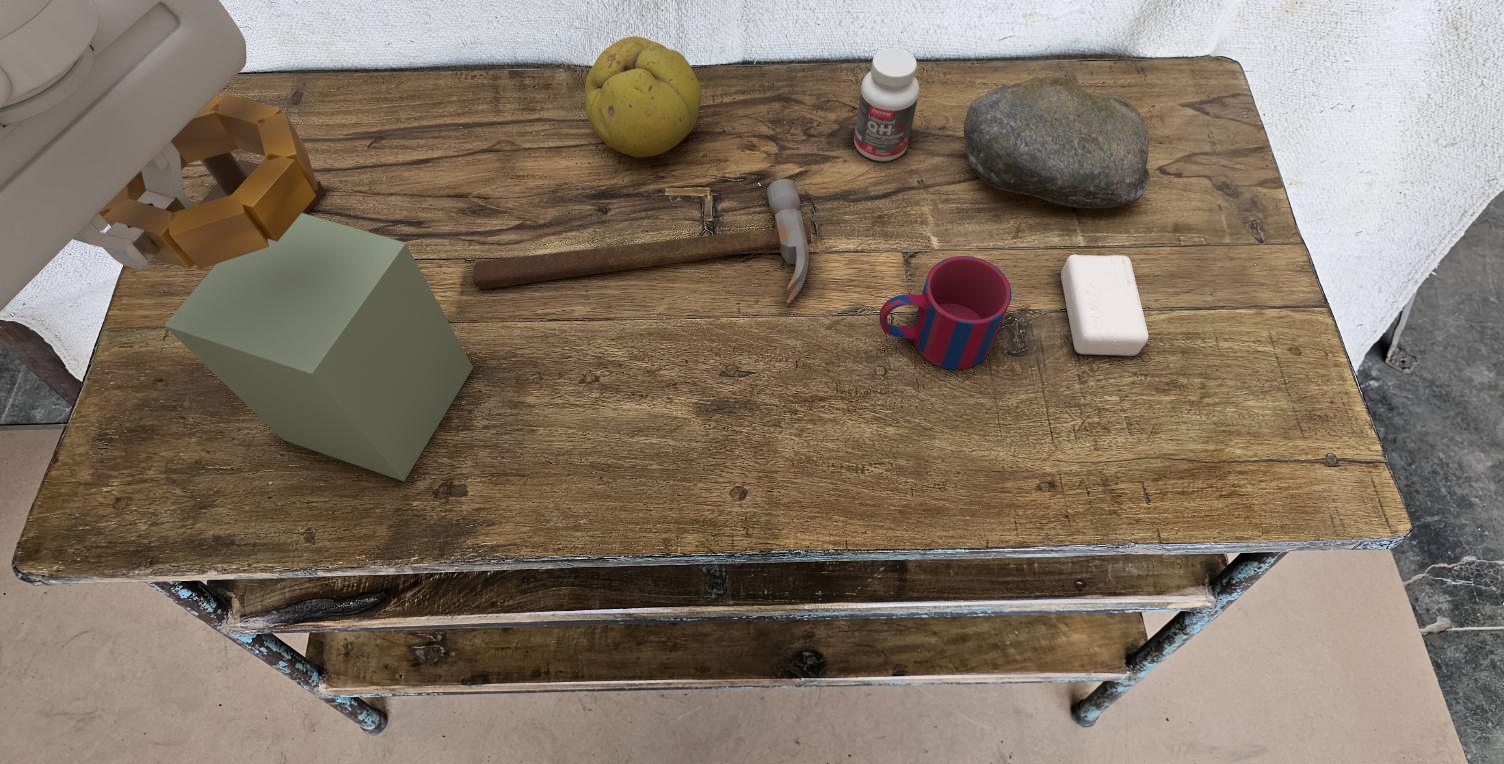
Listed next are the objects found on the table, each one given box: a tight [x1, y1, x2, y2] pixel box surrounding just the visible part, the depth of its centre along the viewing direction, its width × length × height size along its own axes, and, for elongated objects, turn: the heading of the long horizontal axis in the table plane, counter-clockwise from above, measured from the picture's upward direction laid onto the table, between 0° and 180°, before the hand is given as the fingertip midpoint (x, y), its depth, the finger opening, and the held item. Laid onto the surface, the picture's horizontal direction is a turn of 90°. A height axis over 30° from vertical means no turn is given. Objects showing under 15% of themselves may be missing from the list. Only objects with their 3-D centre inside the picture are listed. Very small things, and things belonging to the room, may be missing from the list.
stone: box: [963, 75, 1151, 209], centre depth 78 cm, size 17×13×10 cm
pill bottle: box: [853, 47, 920, 162], centre depth 80 cm, size 5×5×10 cm
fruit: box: [584, 36, 703, 158], centre depth 80 cm, size 11×12×10 cm
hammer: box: [472, 178, 812, 308], centre depth 75 cm, size 12×3×30 cm
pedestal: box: [164, 213, 474, 482], centre depth 62 cm, size 11×11×16 cm
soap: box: [1060, 253, 1149, 357], centre depth 72 cm, size 9×6×3 cm, turn 178°
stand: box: [197, 151, 326, 215], centre depth 76 cm, size 9×9×8 cm
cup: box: [878, 255, 1012, 371], centre depth 70 cm, size 7×10×7 cm
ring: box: [99, 93, 318, 270], centre depth 48 cm, size 10×10×3 cm
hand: (160, 238), depth 46 cm, fingers closed on ring
